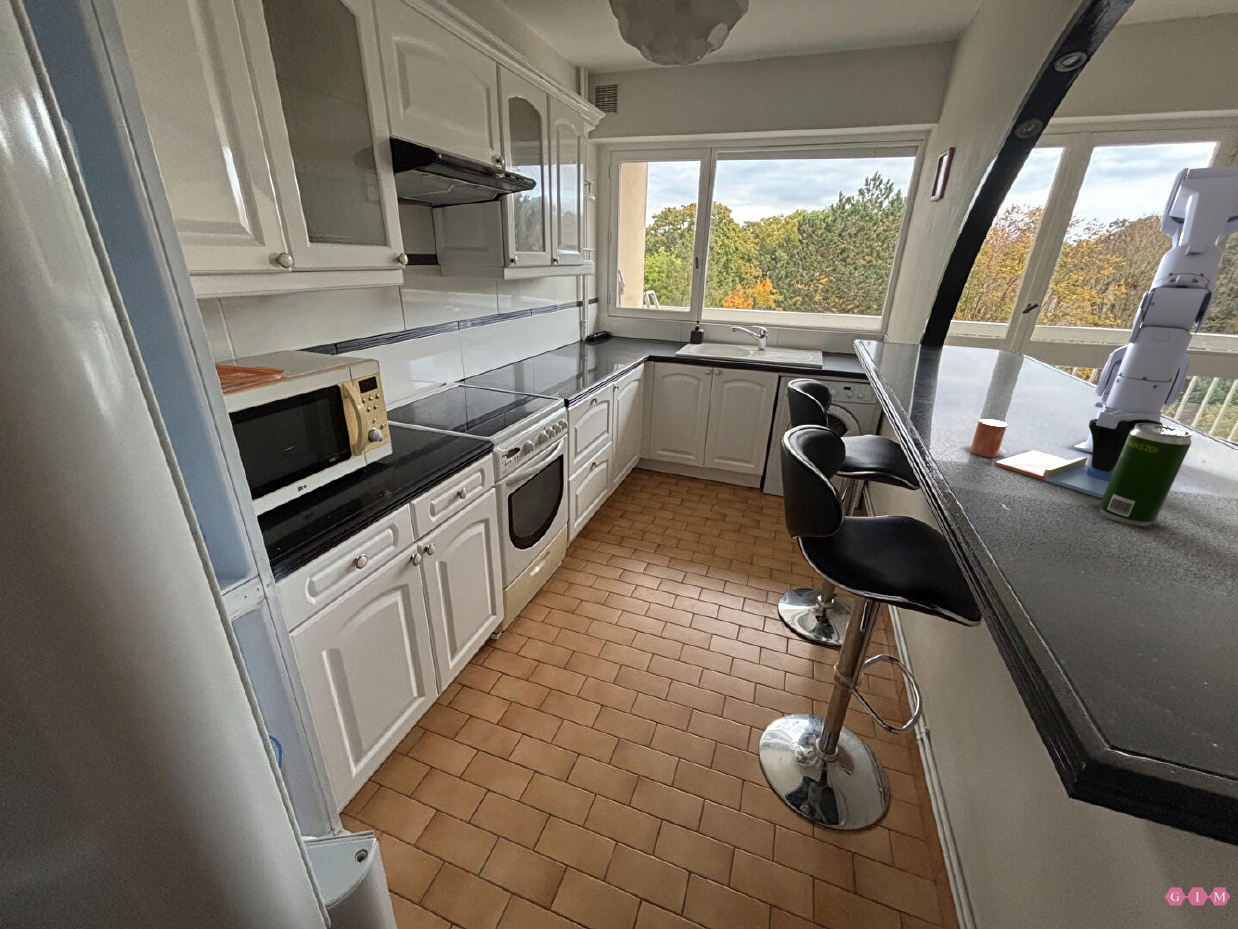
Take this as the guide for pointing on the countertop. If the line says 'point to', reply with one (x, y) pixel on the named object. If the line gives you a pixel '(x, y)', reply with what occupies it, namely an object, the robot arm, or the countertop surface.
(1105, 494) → the green drink can
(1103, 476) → the cylinder
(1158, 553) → the countertop surface
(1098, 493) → the board
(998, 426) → the orange cylinder
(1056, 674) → the countertop surface
